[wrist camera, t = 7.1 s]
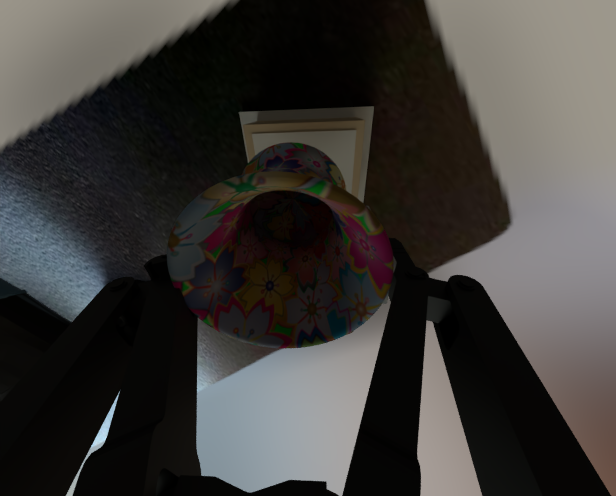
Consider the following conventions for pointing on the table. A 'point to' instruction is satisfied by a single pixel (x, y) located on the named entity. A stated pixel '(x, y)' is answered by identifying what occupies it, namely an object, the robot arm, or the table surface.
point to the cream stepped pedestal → (317, 136)
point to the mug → (281, 252)
